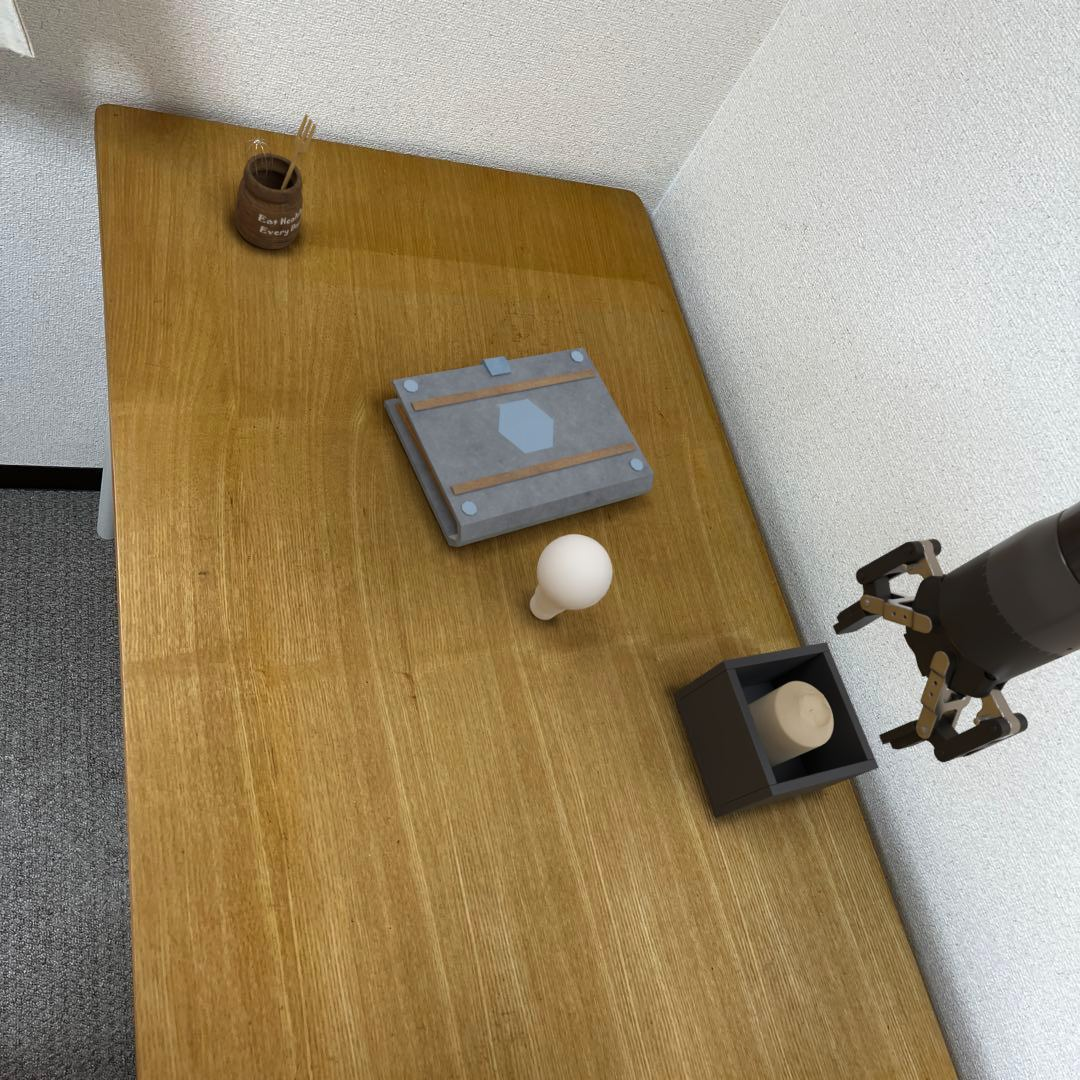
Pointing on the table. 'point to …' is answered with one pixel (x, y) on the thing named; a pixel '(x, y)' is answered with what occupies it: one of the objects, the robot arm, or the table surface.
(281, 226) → the utensil holder
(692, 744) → the bin
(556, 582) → the lightbulb
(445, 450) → the book
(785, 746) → the candle
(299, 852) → the table surface
